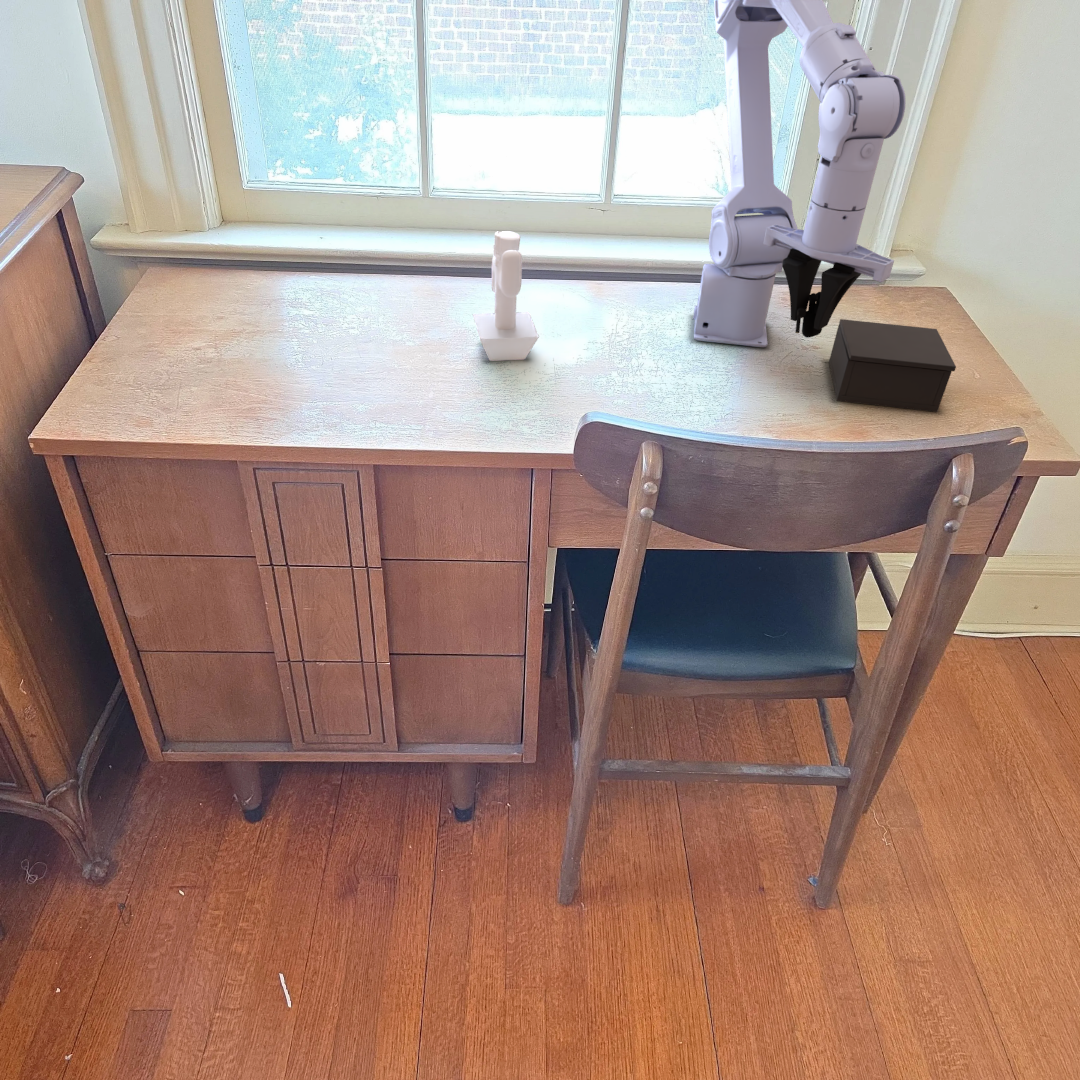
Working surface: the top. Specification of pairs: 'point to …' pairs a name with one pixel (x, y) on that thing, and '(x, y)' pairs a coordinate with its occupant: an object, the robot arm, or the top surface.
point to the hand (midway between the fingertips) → (809, 322)
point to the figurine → (506, 305)
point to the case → (885, 382)
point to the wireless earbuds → (809, 317)
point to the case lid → (895, 345)
